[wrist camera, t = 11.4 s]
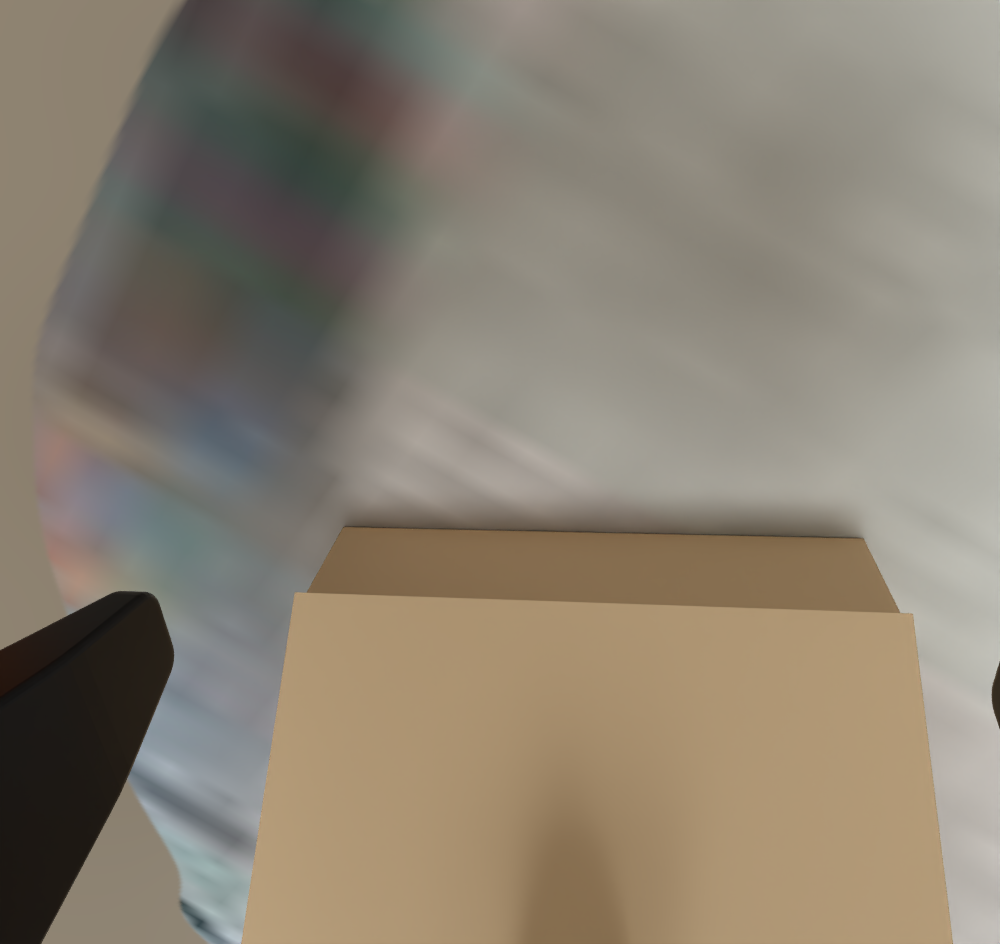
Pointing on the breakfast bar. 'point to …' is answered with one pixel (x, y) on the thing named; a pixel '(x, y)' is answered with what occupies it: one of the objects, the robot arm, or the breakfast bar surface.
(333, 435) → the breakfast bar surface
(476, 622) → the lid flap
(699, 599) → the carton
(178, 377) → the breakfast bar surface
